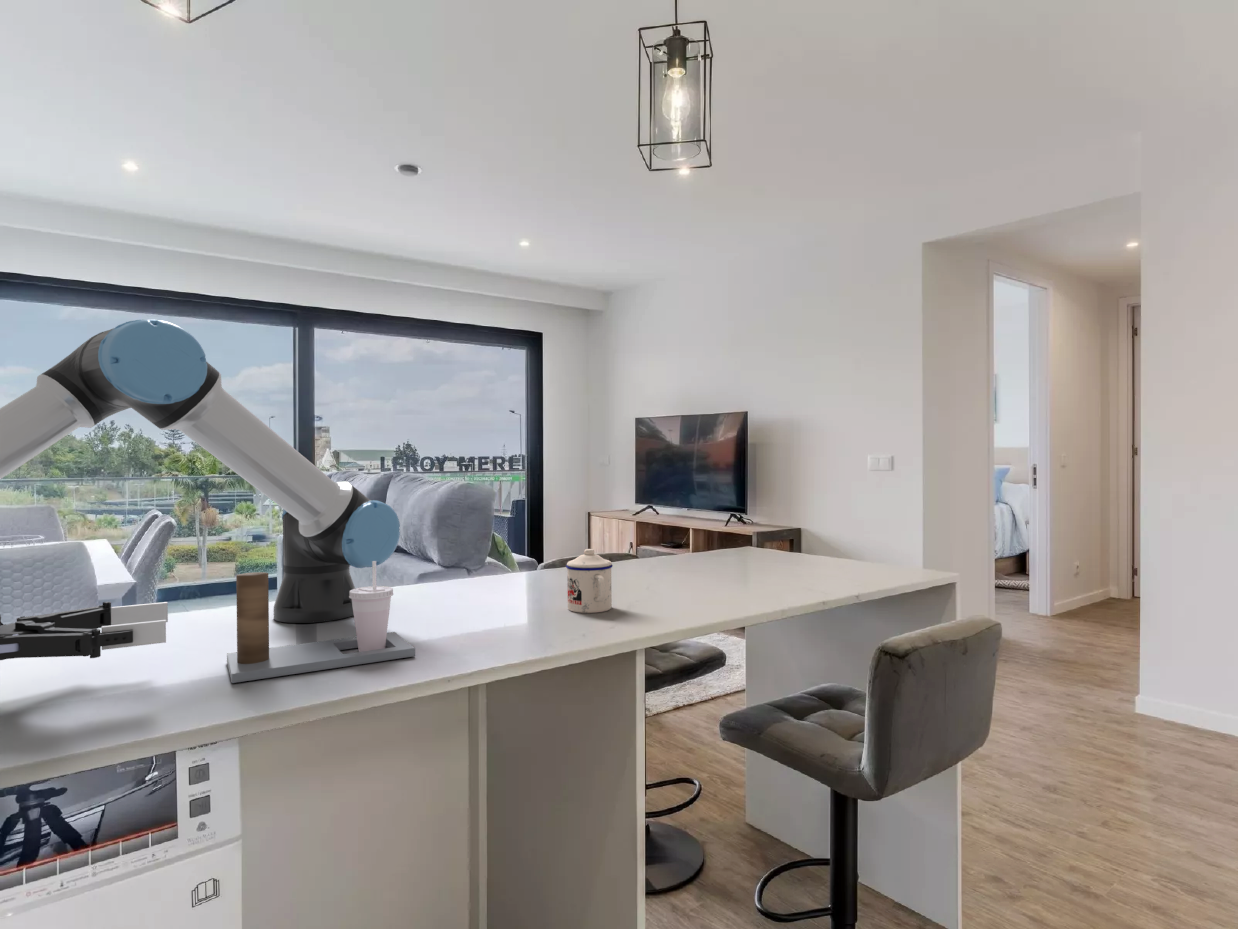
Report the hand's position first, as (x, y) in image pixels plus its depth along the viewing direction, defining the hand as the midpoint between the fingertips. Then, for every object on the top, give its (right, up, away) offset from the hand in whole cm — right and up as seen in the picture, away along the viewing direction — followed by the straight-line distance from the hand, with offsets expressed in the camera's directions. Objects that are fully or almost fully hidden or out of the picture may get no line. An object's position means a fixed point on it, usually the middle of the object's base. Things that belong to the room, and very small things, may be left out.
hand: (167, 620), depth 96 cm
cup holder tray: (+16, -8, +10) cm, 21 cm away
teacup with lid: (+55, -8, +44) cm, 71 cm away
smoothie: (+22, -8, +14) cm, 28 cm away
